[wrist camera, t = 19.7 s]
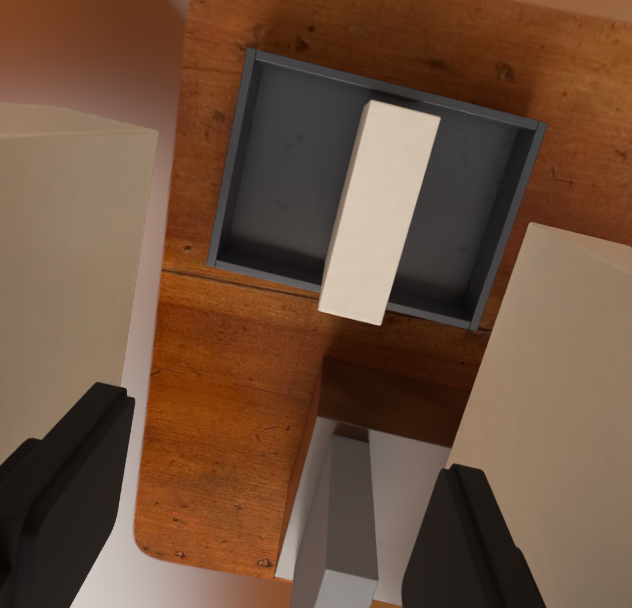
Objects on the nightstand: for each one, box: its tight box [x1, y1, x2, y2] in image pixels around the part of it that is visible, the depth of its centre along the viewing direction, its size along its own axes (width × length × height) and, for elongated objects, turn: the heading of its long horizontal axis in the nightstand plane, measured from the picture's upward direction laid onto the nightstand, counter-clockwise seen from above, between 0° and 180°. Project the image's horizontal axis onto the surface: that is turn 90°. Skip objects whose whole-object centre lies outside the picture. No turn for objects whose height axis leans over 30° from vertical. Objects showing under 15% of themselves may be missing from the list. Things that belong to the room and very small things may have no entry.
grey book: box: [290, 435, 379, 608], centre depth 34 cm, size 2×11×12 cm, turn 167°
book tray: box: [206, 47, 548, 331], centre depth 41 cm, size 19×14×5 cm
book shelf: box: [274, 357, 471, 606], centre depth 45 cm, size 20×13×10 cm, turn 77°
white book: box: [318, 100, 441, 326], centre depth 36 cm, size 4×11×13 cm, turn 167°
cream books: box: [0, 102, 632, 608], centre depth 13 cm, size 17×11×12 cm, turn 77°
